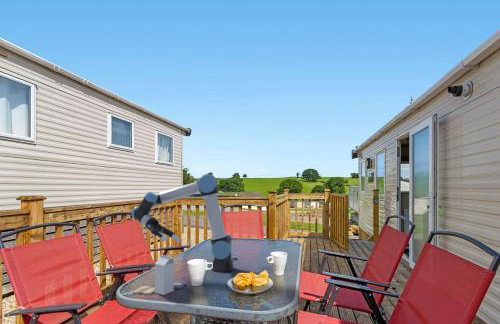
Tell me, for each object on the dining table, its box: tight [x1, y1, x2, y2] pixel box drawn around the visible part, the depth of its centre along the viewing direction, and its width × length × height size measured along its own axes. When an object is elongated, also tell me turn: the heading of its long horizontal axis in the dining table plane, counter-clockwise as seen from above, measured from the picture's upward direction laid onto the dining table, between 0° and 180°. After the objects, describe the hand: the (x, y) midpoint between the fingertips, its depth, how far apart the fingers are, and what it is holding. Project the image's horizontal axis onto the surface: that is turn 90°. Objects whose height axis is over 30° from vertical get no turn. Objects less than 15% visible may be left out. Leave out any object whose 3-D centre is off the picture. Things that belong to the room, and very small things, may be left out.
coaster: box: [132, 285, 155, 296], centre depth 166 cm, size 10×10×1 cm
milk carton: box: [153, 254, 175, 296], centre depth 165 cm, size 7×7×19 cm
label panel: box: [153, 281, 187, 290], centre depth 174 cm, size 16×9×1 cm, turn 81°
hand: (173, 240), depth 183 cm, fingers open, 13 cm apart
